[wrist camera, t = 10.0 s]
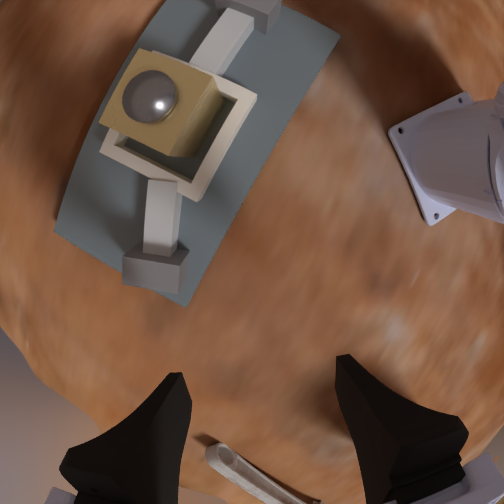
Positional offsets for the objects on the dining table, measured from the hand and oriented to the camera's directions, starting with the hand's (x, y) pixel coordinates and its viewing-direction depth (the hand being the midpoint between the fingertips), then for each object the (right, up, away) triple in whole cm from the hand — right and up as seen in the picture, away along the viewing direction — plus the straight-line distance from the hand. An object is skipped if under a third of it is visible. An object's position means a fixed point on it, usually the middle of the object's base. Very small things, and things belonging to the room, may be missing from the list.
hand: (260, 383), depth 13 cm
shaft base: (-5, +14, +5) cm, 16 cm away
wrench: (+4, -26, +18) cm, 31 cm away
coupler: (-5, +14, +4) cm, 16 cm away
